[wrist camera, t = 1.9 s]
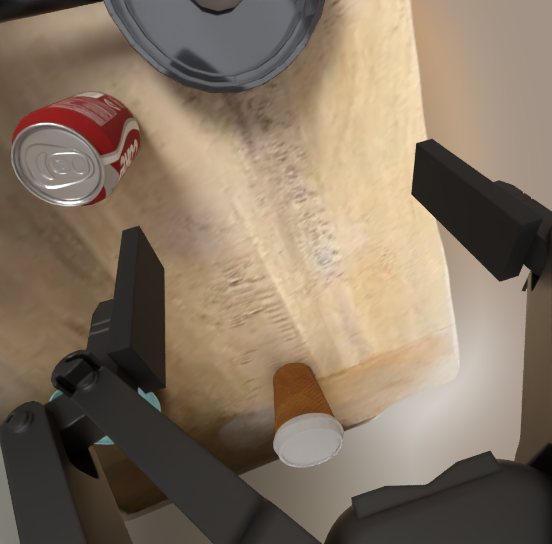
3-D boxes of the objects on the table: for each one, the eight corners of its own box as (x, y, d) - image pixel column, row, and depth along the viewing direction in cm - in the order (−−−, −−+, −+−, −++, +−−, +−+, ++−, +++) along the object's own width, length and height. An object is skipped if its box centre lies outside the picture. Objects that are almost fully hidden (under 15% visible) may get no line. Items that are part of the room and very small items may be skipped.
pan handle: (109, -32, 26) (102, -36, 24) (119, -1, 27) (114, -4, 25) (-69, 5, 25) (-87, 3, 24) (-52, 35, 26) (-67, 35, 25)
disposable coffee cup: (306, 345, 53) (329, 415, 43) (331, 380, 58) (356, 449, 48) (251, 373, 54) (261, 447, 44) (280, 404, 59) (295, 477, 49)
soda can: (53, 90, 31) (-21, 112, 21) (133, 90, 32) (99, 111, 22) (75, 168, 35) (22, 218, 25) (147, 166, 35) (123, 213, 26)
